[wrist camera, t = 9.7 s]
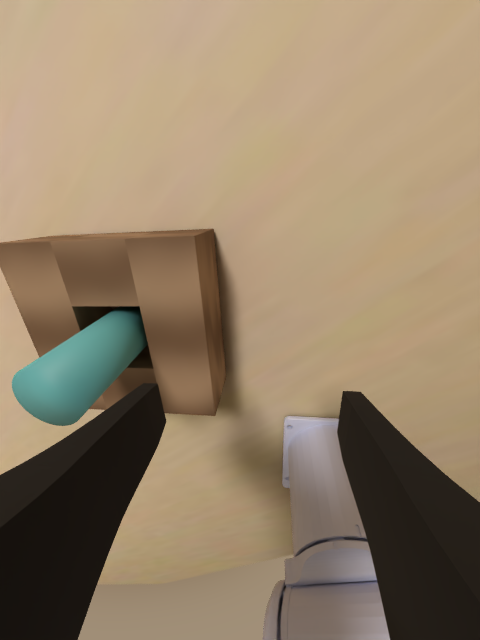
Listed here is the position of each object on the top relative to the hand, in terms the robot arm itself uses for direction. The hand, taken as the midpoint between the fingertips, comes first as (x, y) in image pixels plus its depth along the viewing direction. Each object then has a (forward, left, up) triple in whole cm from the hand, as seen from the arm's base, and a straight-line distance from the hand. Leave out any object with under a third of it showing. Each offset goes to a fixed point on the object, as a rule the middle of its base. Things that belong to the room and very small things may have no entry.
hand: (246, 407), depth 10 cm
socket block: (0, +9, -10) cm, 13 cm away
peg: (0, +9, -9) cm, 12 cm away
